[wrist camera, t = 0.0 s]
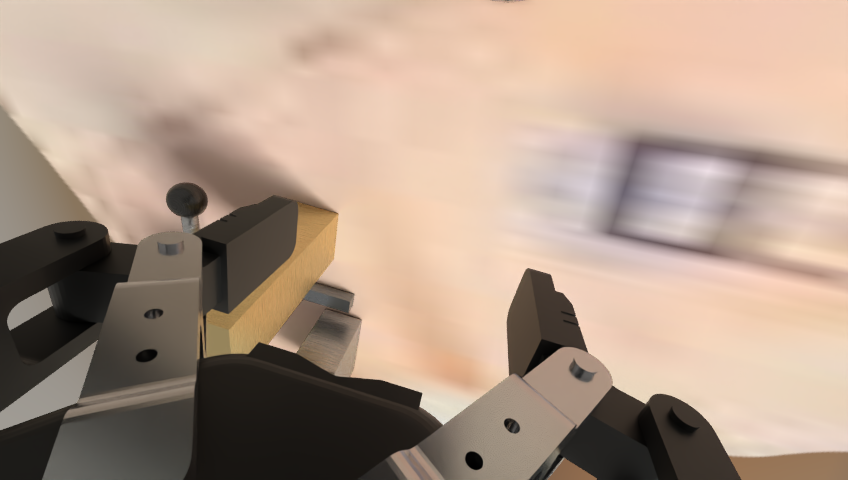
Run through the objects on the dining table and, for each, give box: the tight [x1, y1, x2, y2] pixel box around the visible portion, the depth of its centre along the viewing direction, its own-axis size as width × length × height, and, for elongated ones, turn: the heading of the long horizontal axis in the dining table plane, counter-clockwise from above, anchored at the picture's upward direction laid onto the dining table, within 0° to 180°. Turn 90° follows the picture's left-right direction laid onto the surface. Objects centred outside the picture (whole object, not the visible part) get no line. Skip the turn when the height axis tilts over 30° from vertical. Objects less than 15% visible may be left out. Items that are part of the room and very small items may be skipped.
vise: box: [166, 183, 354, 313], centre depth 35 cm, size 24×15×8 cm, turn 168°
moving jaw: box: [296, 309, 362, 377], centre depth 37 cm, size 8×4×8 cm, turn 167°
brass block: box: [207, 202, 338, 357], centre depth 27 cm, size 5×5×15 cm
